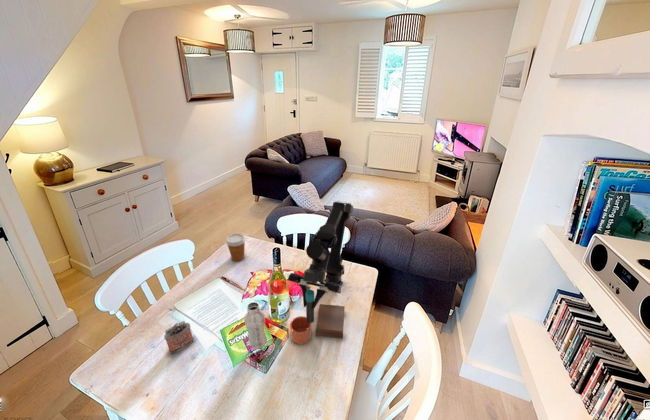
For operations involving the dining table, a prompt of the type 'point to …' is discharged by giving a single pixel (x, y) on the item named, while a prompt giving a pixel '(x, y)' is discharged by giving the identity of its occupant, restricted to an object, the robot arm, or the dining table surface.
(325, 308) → the shelf
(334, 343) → the dining table surface
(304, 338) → the pen cup
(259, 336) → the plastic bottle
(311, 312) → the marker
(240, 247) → the disposable coffee cup
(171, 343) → the broken red brick
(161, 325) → the dining table surface
